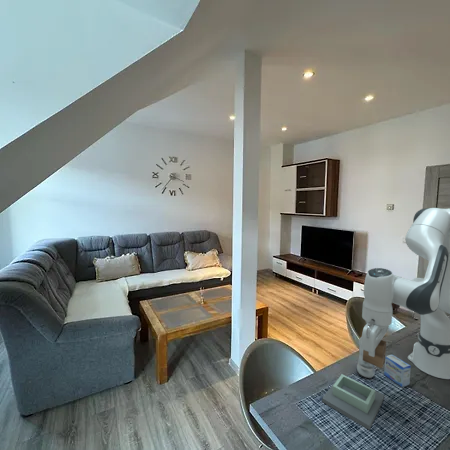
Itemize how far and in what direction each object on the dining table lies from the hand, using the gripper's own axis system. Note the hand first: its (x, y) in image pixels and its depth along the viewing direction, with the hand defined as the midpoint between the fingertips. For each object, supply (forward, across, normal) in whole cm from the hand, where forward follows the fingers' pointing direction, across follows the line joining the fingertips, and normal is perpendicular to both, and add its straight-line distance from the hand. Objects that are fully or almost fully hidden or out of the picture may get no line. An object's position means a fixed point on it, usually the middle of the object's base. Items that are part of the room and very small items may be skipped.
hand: (374, 352), depth 87 cm
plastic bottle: (+22, +17, +6) cm, 28 cm away
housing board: (+22, -1, +6) cm, 22 cm away
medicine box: (+22, +23, -4) cm, 32 cm away
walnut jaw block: (+4, 0, 0) cm, 4 cm away
